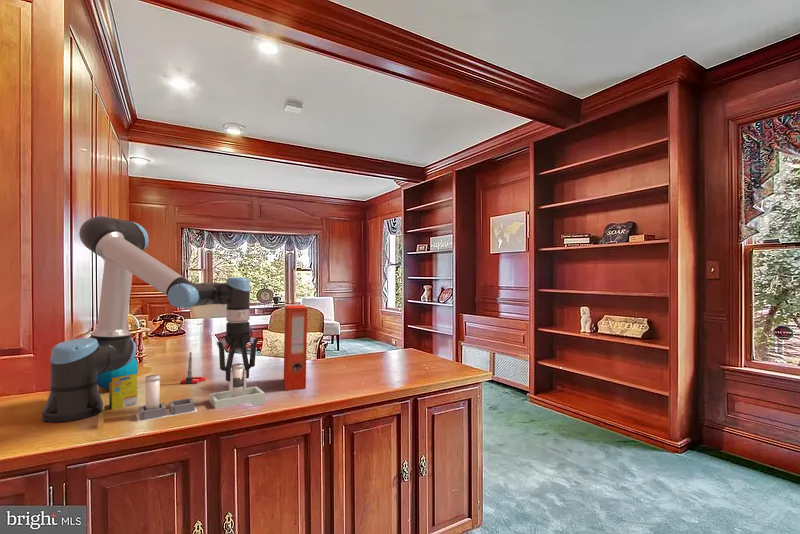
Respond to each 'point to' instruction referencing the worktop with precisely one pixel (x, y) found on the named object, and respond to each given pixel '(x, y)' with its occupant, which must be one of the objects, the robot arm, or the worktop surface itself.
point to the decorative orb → (117, 374)
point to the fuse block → (167, 410)
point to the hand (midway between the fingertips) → (237, 388)
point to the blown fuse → (237, 380)
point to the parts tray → (237, 398)
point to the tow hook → (189, 378)
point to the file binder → (295, 347)
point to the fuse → (152, 392)
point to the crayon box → (123, 392)
